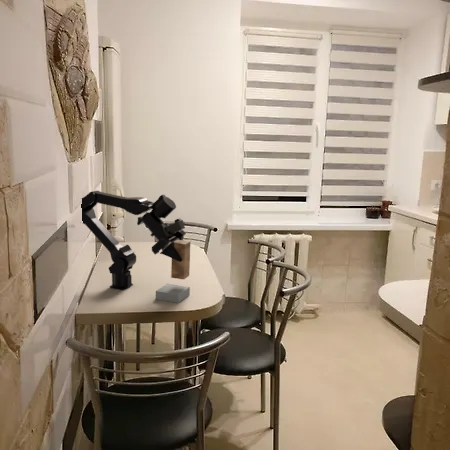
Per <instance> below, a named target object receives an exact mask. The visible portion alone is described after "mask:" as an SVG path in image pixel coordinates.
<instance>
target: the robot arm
mask: <svg viewBox="0 0 450 450" xmlns="http://www.w3.org/2000/svg"><path fill="white" fill-rule="evenodd" d="M81 199H82V204H81V208H82V221H83V223H82V224H83V225H85V226H86V227H87V228H88V230H90V232H91V233H92V234H93V235H94V236H95V237H96V239H97V240H99V242H100V243H101V244H102V245H103V246H104V247H105V249H106V250H107V251H108V252H109V253H110V257H111V261H112V264H110V266H109V267H108V270H109V273H110V274H111V285H110V286H109V288H111V289H116V290H117V289H118V290H122V291H123V290H126V289H128V288H130V287H132V286H134V284H133V283H132V282H133V281H132V274H131V273H132V272H131V270H132V269H133V266H134V265H135V264H136V263H137V255H136V254H135V253H136V251H135V250H133V249H132V247H130V245H129V244H125V245H123V244H121V243H120V242H119V241H118V240H117V239H116V238H115V237H114V236H113V234H112V233H111V232H110V231H109V230H108V229H107V228H106V226H105V225H103V223H102V222H101V221H100V219H99V218H98V217H97V216H96V212H95V209H94V208H95V207H96V206H97V205H98V204H102V205H106V206H110V207H114V208H119V209H123V210H124V211H125V212H127V213H128V214H132V215H134V216H139V215H142V216H139V217H137V226H140V225H142V224H143V225H144V226H145V227H146V228H147V229H148V230H149V232H151V233H150V236H151V237H155V239H156V240H157V241H156V242H155V243H154V244H153V245H152V246H151V252H152V253H153V254H154V255H155V256H156V255H157V254H159V255H163V256H165V257H166V256H167V257H168V258H170V259H172V258H173V259H175V260H177V261H179V262H181V261H182V258H181V257H180V255H179V254H178V252H177V251H176V249H175V248H174V241H176V240H184V238H185V235H186V234H187V233H186V232H185V231H184V229H186V227H185V223H186V222H185V221H184V220H183V219H181V217H179V218H176V219H174V222H173V223H170V224H169V223H168V222H164V221H163V220H162V219H166V218H167V217H168V216H169V215H170V214H171V213H172V212H174V210H176V208H177V205H176V203H175V201H174V200H172V199H171V198H169V197H168V196H166V194H160V196H159V197H158V198H157V200H156V201H150V200H148V198H146V197H141V196H136V197H134V196H133V197H128V196H127V197H126V196H122V195H116V194H113V193H108V192H102V191H99V190H93V191H89V192H88V193H87V194H86V195H85V196H83V197H82V198H81ZM150 210H151V211H150ZM149 211H150V212H149Z"/></svg>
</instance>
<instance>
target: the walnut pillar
mask: <svg viewBox="0 0 450 450" xmlns="http://www.w3.org/2000/svg"><path fill="white" fill-rule="evenodd" d="M174 248H175V249H176V251H177V252H178V254H179V255H180V257H181V258H182V261H181V262H179V261H177V260H175V259H173V258H171V267H170V269H171V270H170V274H171V275H170V278H171V279H178V280H185V279H187V278H189V276H190V266H191V265H190V264H191V263H190V262H191V241H190V240H184V239H183V240H176V241H174Z"/></svg>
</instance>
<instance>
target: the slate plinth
mask: <svg viewBox="0 0 450 450" xmlns="http://www.w3.org/2000/svg"><path fill="white" fill-rule="evenodd" d="M190 292H191V289H190V286H185V285H179V284H175V283H166V284H165V285H163V286H161V287H160V288H158V289H157V290H155V300H160V301H164V302H171V303H176V304H179V303H181V302H182V301H184V300H185V299H186V298H187V297H189V296H190Z"/></svg>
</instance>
